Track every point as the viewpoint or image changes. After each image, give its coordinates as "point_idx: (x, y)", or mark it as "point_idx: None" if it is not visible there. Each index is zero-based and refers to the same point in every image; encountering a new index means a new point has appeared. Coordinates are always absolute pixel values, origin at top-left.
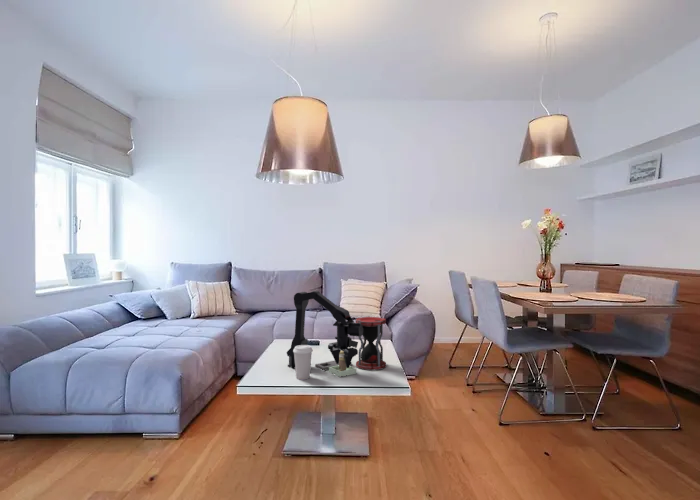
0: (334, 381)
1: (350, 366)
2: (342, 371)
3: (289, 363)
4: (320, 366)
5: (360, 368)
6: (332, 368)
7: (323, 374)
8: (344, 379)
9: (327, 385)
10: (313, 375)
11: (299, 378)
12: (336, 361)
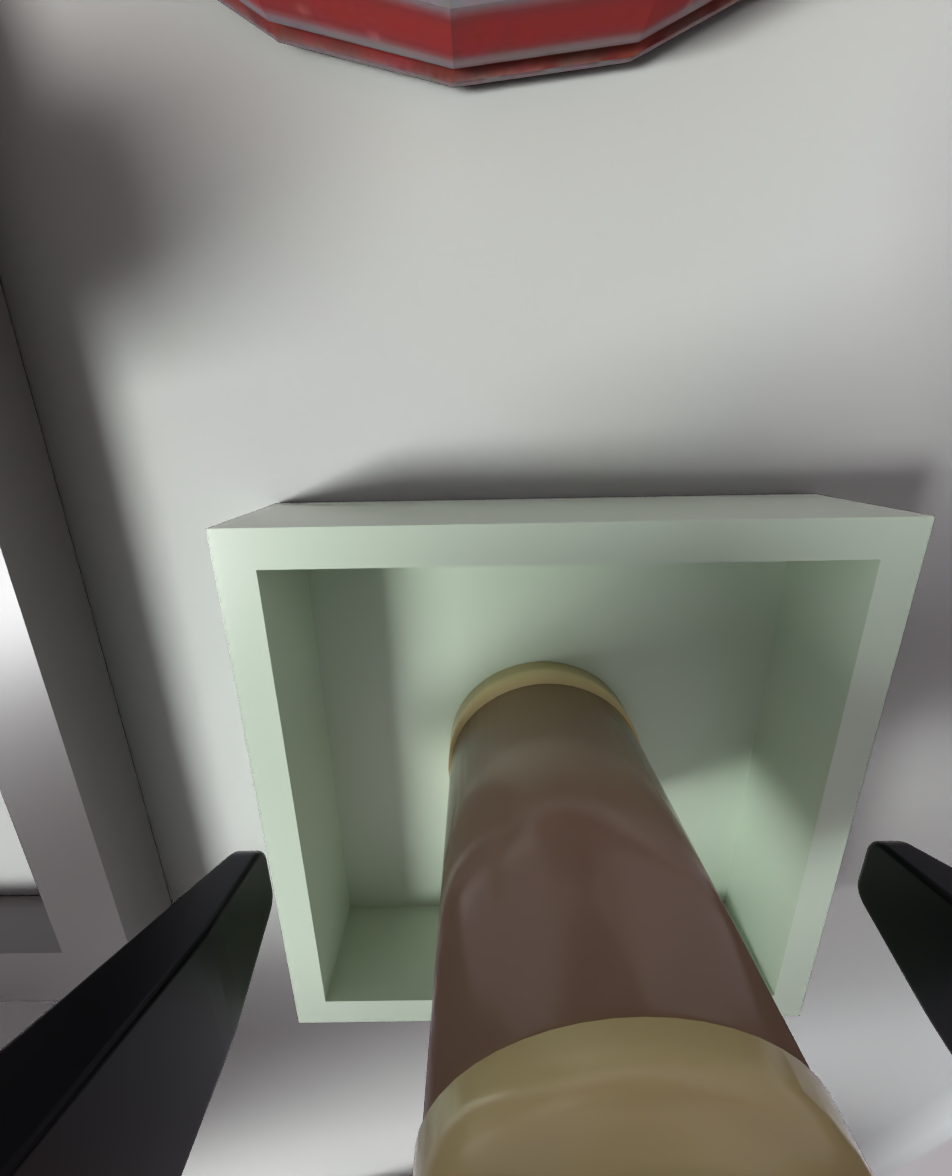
0: (840, 1050)
1: (600, 553)
2: (813, 961)
3: None
4: (19, 995)
5: (574, 68)
6: None
7: None
8: None
9: (891, 1167)
10: (367, 1128)
11: None
12: (237, 1006)
